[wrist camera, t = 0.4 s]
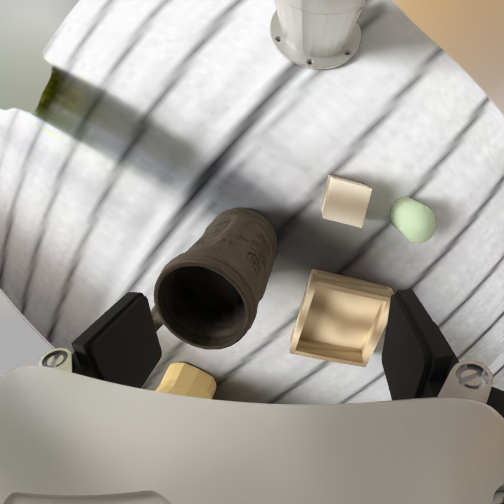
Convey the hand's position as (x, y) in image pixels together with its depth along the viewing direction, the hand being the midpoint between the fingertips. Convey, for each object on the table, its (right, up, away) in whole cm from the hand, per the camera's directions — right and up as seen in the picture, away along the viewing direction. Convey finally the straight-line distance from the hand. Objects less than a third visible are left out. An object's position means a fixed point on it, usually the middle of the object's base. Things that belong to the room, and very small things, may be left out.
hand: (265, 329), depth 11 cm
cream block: (+12, +11, +29) cm, 33 cm away
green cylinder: (+22, +8, +28) cm, 37 cm away
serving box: (+14, -7, +35) cm, 38 cm away
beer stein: (-4, +3, +35) cm, 35 cm away
